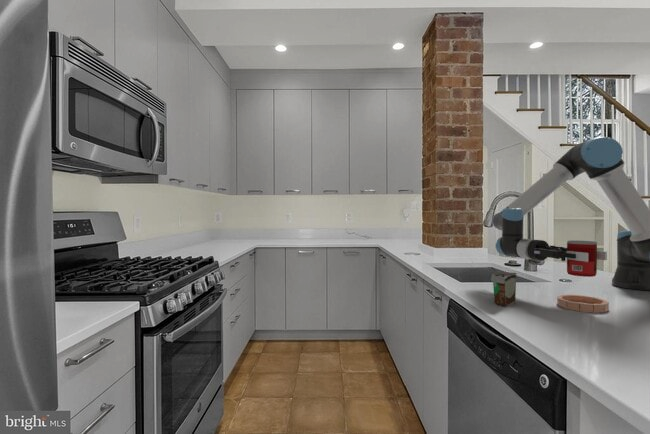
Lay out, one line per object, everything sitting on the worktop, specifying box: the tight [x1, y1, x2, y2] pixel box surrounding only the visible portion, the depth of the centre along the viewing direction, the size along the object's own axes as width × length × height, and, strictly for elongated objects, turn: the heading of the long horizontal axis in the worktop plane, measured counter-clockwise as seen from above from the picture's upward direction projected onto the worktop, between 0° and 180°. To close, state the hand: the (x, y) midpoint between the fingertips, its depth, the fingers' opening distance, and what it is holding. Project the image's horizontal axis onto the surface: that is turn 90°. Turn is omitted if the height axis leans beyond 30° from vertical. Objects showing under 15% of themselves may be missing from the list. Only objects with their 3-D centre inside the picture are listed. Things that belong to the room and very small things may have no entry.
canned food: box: [566, 240, 598, 278], centre depth 118 cm, size 8×8×11 cm
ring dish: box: [556, 294, 610, 313], centre depth 118 cm, size 13×13×2 cm
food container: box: [490, 271, 518, 308], centre depth 124 cm, size 12×6×10 cm, turn 134°
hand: (596, 256), depth 113 cm, fingers closed on canned food, 8 cm apart
